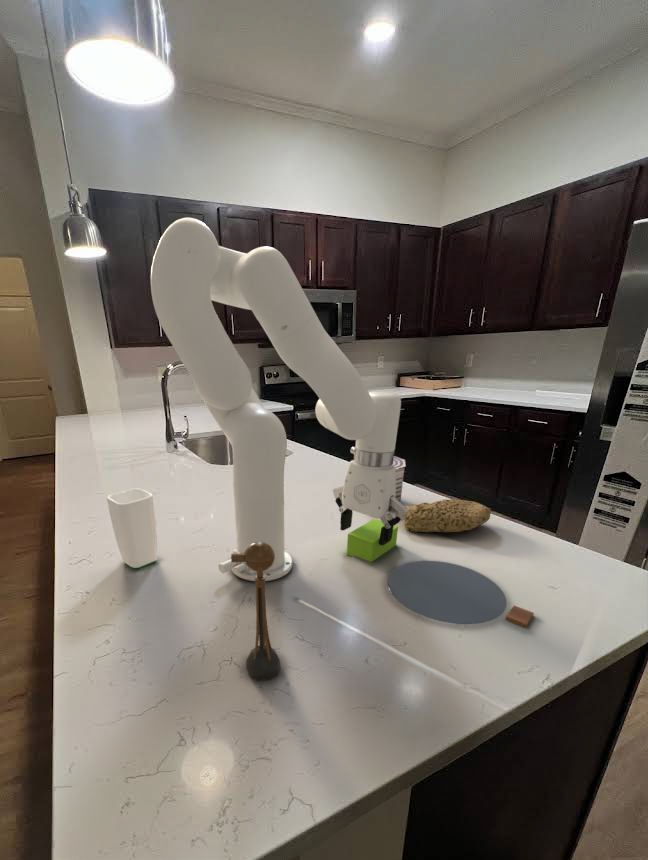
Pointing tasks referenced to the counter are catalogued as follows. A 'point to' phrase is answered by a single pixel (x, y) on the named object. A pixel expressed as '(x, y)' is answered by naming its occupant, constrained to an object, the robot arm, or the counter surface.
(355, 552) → the small sponge
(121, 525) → the cup
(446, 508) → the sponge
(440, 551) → the counter surface
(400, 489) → the can
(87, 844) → the counter surface
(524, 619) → the brown rectangular block
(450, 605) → the plate
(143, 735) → the counter surface
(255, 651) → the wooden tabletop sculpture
